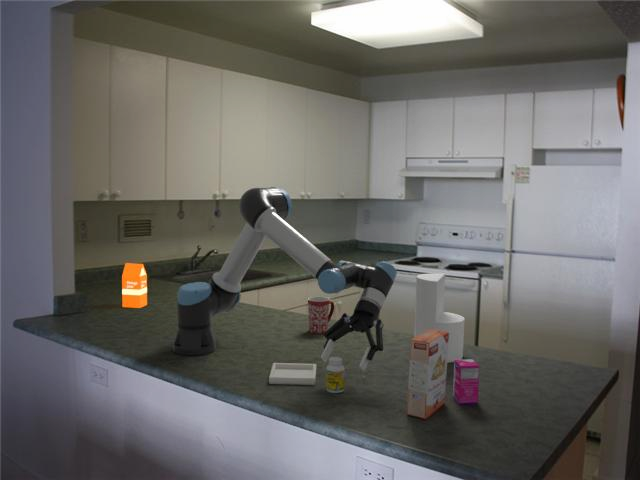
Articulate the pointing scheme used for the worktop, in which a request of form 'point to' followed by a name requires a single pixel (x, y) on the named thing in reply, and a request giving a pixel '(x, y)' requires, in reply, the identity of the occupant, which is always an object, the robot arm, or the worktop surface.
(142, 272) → the orange juice
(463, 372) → the supplement box
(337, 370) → the supplement bottle
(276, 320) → the worktop surface
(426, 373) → the cracker box
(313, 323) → the mug
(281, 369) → the tray
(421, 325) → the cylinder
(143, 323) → the worktop surface
